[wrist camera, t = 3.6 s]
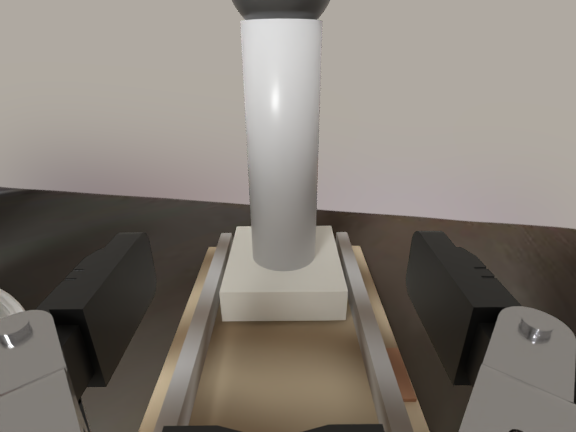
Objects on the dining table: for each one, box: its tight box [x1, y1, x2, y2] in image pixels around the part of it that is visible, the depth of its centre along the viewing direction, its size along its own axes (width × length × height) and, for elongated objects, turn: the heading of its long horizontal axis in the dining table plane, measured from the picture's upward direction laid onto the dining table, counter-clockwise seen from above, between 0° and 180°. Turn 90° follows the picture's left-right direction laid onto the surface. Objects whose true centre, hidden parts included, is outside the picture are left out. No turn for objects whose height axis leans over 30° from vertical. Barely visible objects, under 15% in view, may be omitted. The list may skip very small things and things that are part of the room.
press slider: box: [219, 0, 348, 321], centre depth 20 cm, size 8×7×20 cm
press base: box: [138, 232, 430, 432], centre depth 19 cm, size 21×12×3 cm, turn 0°
